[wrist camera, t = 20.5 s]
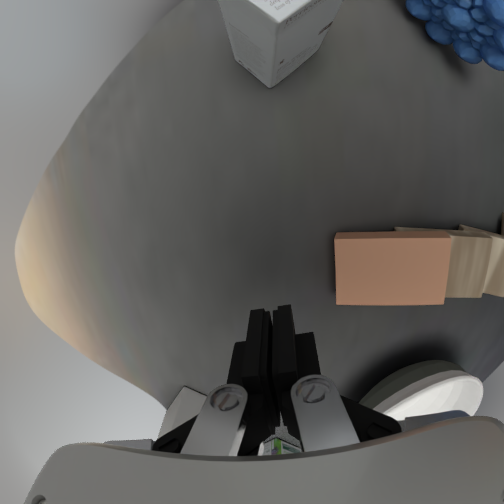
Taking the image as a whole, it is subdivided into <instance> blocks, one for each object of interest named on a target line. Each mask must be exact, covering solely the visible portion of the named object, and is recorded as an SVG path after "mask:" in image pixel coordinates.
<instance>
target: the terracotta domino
mask: <svg viewBox="0 0 504 504" xmlns="http://www.w3.org/2000/svg"><path fill="white" fill-rule="evenodd" d="M451 239H452V238H451V237H450V236H449V235H448V234H447V232H446V231H391V232H336V235H335V238H334V244H335V267H336V305H440V304H444V299H445V293H446V286H447V279H448V271H449V262H450V252H451Z"/></svg>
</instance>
